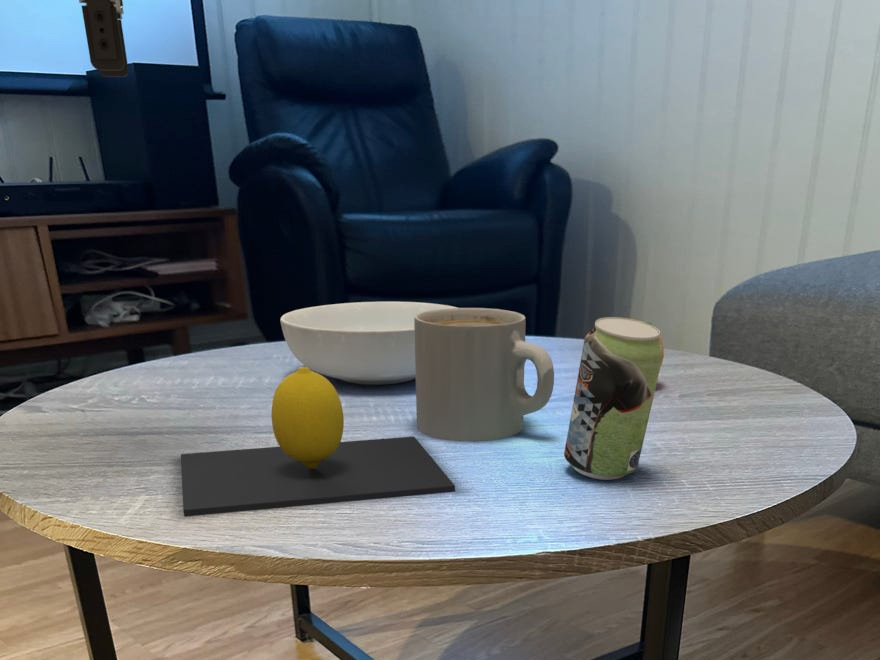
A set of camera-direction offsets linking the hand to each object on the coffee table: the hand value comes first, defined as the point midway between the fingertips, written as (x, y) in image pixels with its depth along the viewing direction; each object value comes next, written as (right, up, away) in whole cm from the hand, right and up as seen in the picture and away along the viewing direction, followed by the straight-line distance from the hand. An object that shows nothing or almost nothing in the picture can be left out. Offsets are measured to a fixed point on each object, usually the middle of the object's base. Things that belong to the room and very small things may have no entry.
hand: (111, 73), depth 69 cm
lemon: (+14, -28, +6) cm, 32 cm away
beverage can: (+38, -29, +7) cm, 48 cm away
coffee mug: (+28, -23, +18) cm, 40 cm away
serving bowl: (+16, -12, +38) cm, 43 cm away
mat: (+14, -29, +6) cm, 32 cm away
